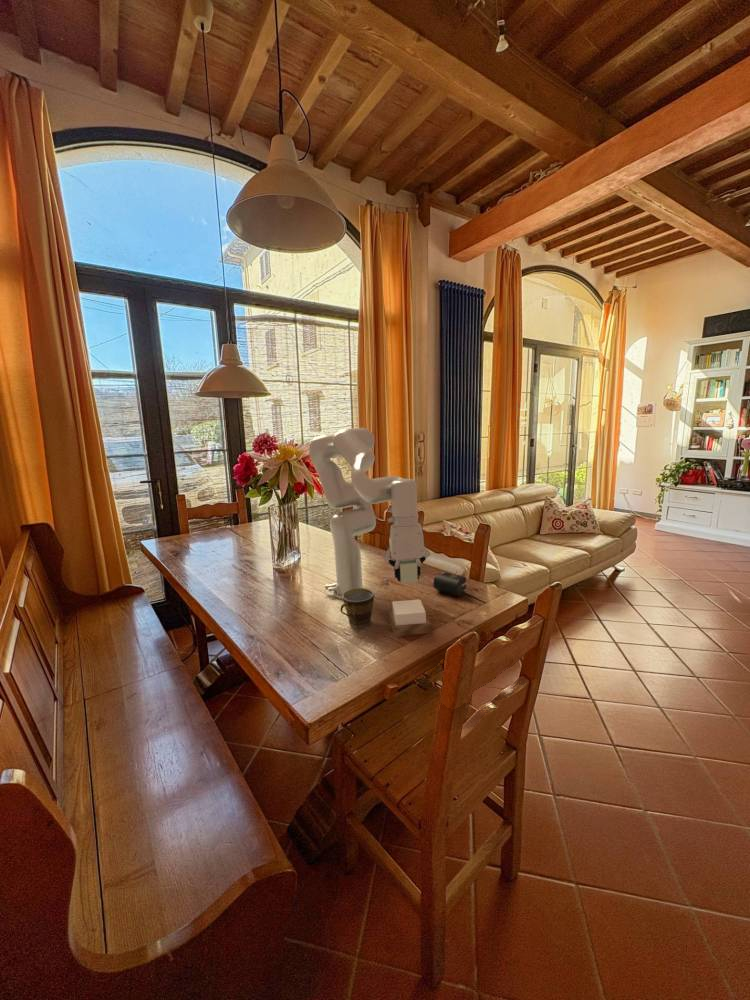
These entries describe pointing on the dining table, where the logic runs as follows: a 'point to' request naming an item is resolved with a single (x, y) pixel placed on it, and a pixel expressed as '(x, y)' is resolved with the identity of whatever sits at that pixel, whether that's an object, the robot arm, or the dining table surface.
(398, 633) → the walnut slab
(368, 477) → the robot arm
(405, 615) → the white slab
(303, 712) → the dining table surface
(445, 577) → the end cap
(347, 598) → the ceramic cup
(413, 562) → the green block
